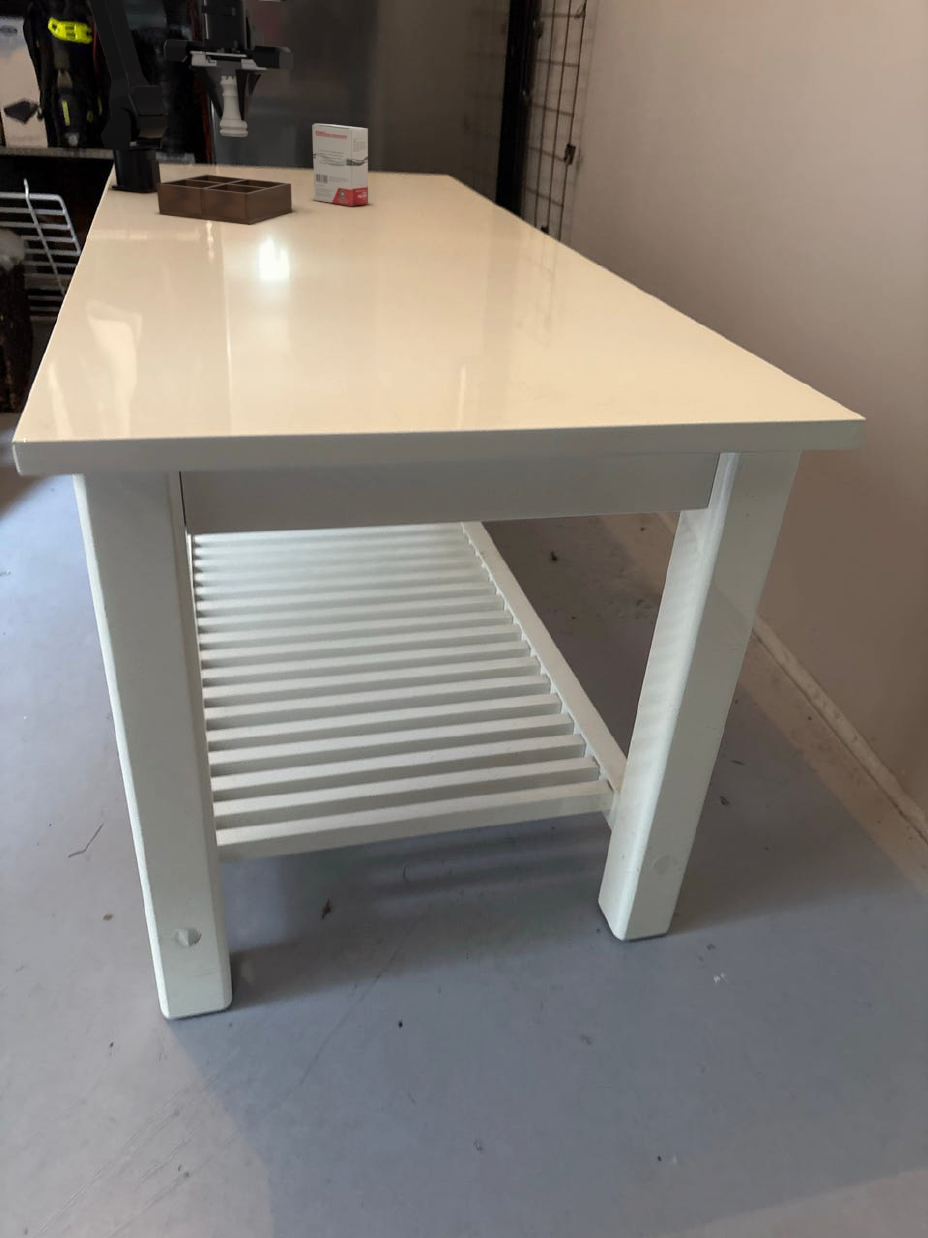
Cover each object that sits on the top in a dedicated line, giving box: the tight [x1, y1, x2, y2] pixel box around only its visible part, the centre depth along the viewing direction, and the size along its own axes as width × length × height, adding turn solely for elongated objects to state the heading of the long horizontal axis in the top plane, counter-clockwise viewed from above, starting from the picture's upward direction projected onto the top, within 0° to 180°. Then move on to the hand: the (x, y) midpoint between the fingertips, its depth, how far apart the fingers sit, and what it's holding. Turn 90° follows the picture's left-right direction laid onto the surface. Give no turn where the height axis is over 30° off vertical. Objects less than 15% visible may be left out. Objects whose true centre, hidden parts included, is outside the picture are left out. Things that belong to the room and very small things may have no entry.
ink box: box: [311, 123, 369, 207], centre depth 153 cm, size 9×5×12 cm, turn 58°
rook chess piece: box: [219, 75, 249, 138], centre depth 140 cm, size 4×4×8 cm
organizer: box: [156, 174, 293, 225], centre depth 139 cm, size 15×15×4 cm
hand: (233, 119), depth 141 cm, fingers closed on rook chess piece, 3 cm apart
